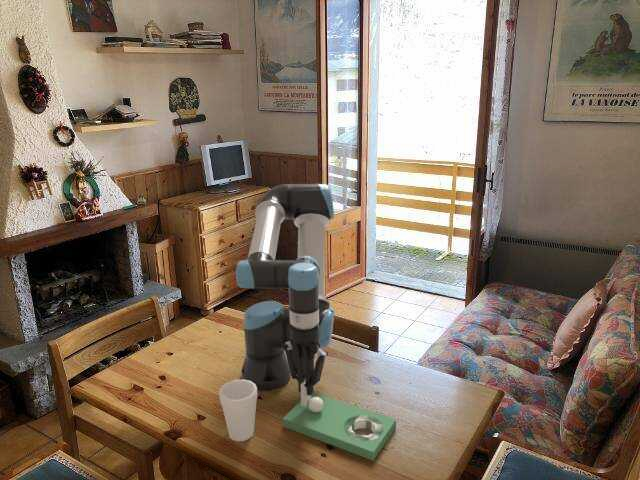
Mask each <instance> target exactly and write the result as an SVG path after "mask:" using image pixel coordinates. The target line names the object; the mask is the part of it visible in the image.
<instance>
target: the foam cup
mask: <svg viewBox="0 0 640 480" xmlns="http://www.w3.org/2000/svg"><path fill="white" fill-rule="evenodd" d="M218 395H219V401H220V405H221V407H222V411H223V415H224V420H225V422H226V427H227V428H226V429H227V432H228V437H229V439H231V440H232V441H235V442H245V441H247V440H249V439H251V438H252V437H253V435H254V431H255V421H256V410H257V401H258V400H257V399H258V389H257V387H256V384H255V383H253V382H251V381H249V380H244V379H242V378H241V379H234V380H230V381H228V382H226V383H224V384H223V385H221V387H220V389H219V391H218Z"/></svg>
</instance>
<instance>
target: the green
mask: <svg viewBox="0 0 640 480" xmlns="http://www.w3.org/2000/svg"><path fill="white" fill-rule="evenodd" d="M313 397H319V398H321V399H322V401H323V404H324V405H323V409H322V410H321V411H320V412H317V413H315V412H312V411H311V410H310V409H309V405H308V406H307V407H304V406H301V400H299V402H298V403H297V404H295V406H294V407H293V408H292V409H291V410H290V411H289V412H288V413H287V414H286V415H285V416H284V417H283V418H282V427H284V428H286V429H288V430H291V431H293V432H297V433H299V434H302V435H304V436H307V437H308V438H309V437H310V438H312V439H315V440H318V441H319V442H323V443H325V444H328V445H330V446H333V447H335V448H338V449H341V450H344V451H346V452H349V453H352V454H353V455H357V456H360V457H362V458H365V459H367V460H370V461H375V460H376V458H377V456H378V455H379V453H380V451H382V449H383V448H384V445H385V444H386V443H387V441H388V440H389V439H390V437H391V436H392V434H393V432H394V431H395V429H396V428H397V419H396V418H392V417H389V416H386V415H382V414H381V413H377V412H374V411H371V410H367V409H364V408H362V407H359V406H356V405H352V404H349V403H347V402H344V401H341V400H338V399H335V398H331V397H329V396H326V395H322V394H321V393H317V392H314V391H313V394H312V395H311V398H313ZM359 429H366V430H370V431H371V432H372V433H370V434H367V435H363V434H362V435H361V434H358V433H357V432H355V431H356V430H359Z"/></svg>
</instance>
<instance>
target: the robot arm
mask: <svg viewBox="0 0 640 480" xmlns="http://www.w3.org/2000/svg"><path fill="white" fill-rule="evenodd" d="M254 215H255V218H256V220H255V225H254V229H253V233H252V234H253V235H252V238H251V241H250V242H251V243H250V247H249V251H248V257H247V259H245V260H239V261H237V264H236V268H235V270H236V271H235V278H236V284H237V286H238V287H239V288H242V289H251V290H254V289H288V303H289V308H287V307H285V308H284V305H283V304H282V303H281V302H280V301H276V300H266V301H261V302H257V303H255V304H252V305H251V306H250V307H248V308H247V309H246V310H245V312H244V314H243V326H242V327H243V330H244V342H245V343H244V344H245V347H244V348H245V357H244V360H243V364H242V367H241V372H240V373H241V379H244V380H249V381H251V382H253V383H255V384H256V387H257V390H260V391H262V390H263V391H266V390H272V389H273V390H274V389H276V388H281V387H282V386H284V385H286V384H287V383H288V382H289V380H290V379H291V378H292V379H293V380H296V381H297V383H298V384H297V385H298V389H297V390H298V393H300V401H301V406H304V407H307V406H308V405H309V401H310V399H311V395H312V394H313V392H314V386H316V385H317V384H318V383H319V382H320V381H321V377H322V374H323V373H322V372H323V368H324V365H325V360H326V358H327V357H328V356H329V352H328V351H326V350H325V351H324V350H322V348H323V349H324V348H327V347H329V346H330V344H331V341H332V335H333V329H334V328H333V327H334V322H335V321H334V320H335V309H334V308H332V307H330V304H331V303H330V301H329V300H328V299H327V298H326V296H325V295H326V293H325V291H326V289H325V287H326V286H325V285H326V283H325V281H326V280H325V279H326V275H325V274H326V271H325V269H326V266H325V265H326V264H325V263H326V259H325V258H326V255H325V254H326V253H325V252H326V228H327V227H328V226H329V225H330V220H333V219H334V217H335V211H334V202H333V195H332V190H331V187H330V185H328V184H326V183H324V184H323V183H318V182H317V183H290V184H289V183H283V184H280V185H279V184H278V185H276V186H274V187H272V188H271V189H268V191H267V192H265V193H264V194H263V195H262V196H261V197H260V199H259V200H258V201H257V203H256V207H255V211H254ZM284 220H293V224H294V225H295V227H296V228H298V231H297V233H298V235H297V258H296V259H292V260H291V259H290V260H289V259H283V260H282V259H276V255H277V249H278V244H279V236H280V230H281V224H282V223H283V222H284ZM315 358H316V361H315Z"/></svg>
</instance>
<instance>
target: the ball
mask: <svg viewBox="0 0 640 480" xmlns="http://www.w3.org/2000/svg"><path fill="white" fill-rule="evenodd" d="M323 405H324V404H323V401H322V399H321V398H319V397H313V398H311V399H310V401H309V409H310V410H311V411H312V412H315V413H317V412H320V411H321V410H322V409H323Z"/></svg>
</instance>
